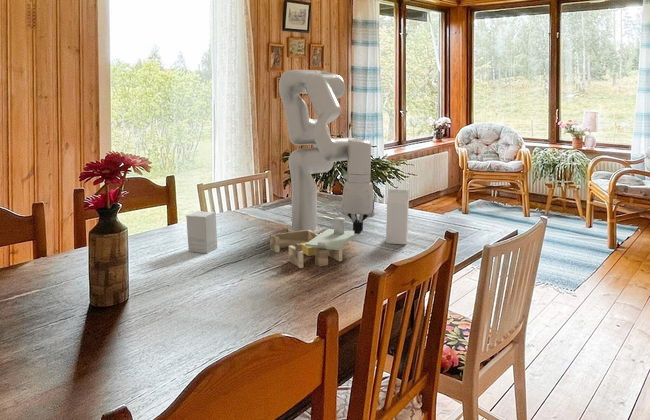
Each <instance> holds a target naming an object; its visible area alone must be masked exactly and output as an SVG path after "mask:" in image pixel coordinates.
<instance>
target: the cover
mask: <svg viewBox="0 0 650 420" xmlns="http://www.w3.org/2000/svg"><path fill="white" fill-rule="evenodd" d="M345 220H346V219H345V217H334V218H333V228H327V229H326V230H324V231H322V232H320V234H319V233H318V234H319V235H318V236H316V237H315V238H313V239H312V240H310V241H309V242H307V243H306V244H305V246H307V247H316V248H324V249H333V250H339V249H340V248H341V247H342V248H343V247H344V246H345V245H347V244H348V243H349V242H351V241H352V240H353V239H354V238H355V237H357V236H358V235H359V234H354V231H353V230H345V227H346V226H345V222H346V221H345Z"/></svg>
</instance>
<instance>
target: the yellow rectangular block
mask: <svg viewBox="0 0 650 420" xmlns="http://www.w3.org/2000/svg"><path fill="white" fill-rule="evenodd" d="M306 243H307V242H306ZM306 243H300V244H301V245H302V251H303V255H306V256H307V257H311V256H315V248H316V247H307V246H305V244H306Z"/></svg>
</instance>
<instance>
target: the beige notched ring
mask: <svg viewBox="0 0 650 420" xmlns="http://www.w3.org/2000/svg"><path fill="white" fill-rule="evenodd" d="M318 235H319V233H316V232H314V231H311V230H309V229H308V230H301V231H293V232H288V231H287V232H280V233H273V234H269V249H270V250H271V251H273V252H275V253H277V254H278V253H280V251H281V249H284V248H288V261H289V263H291V264H293V265H294V266H296V267H298V268H299V269H303V268H304V253H303V251H302V245H301V244H300V243H306V242H309V241H310V240H312V239H313V238H315V237H316V236H318ZM329 257H330V258H332V259H333V260H335V261H338V262H343V247H341V248H340V249H339V250H333V249H324V248H315V255H314V265H317V266H318V267H320V268H321V267H325V266H328V265H329Z"/></svg>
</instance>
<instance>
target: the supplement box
mask: <svg viewBox="0 0 650 420" xmlns="http://www.w3.org/2000/svg"><path fill="white" fill-rule="evenodd" d="M185 217H186V233H187V246H188V248H187V249H188V252H190V253H198V254H199V253H202V254H209V253H210V252H212V251H214V250H216V249H218V233H217V231H218V230H217V213H216V212H214V211H202V210H201V211H200V210H196V211H194V212H192V213H190V214H187V215H186V216H185Z"/></svg>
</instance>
